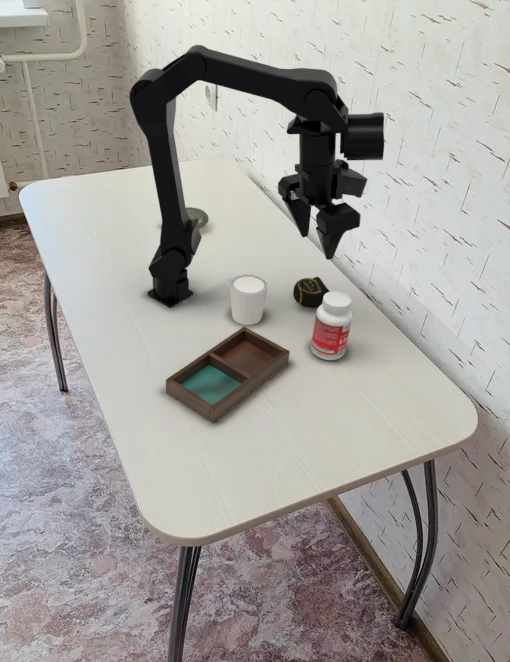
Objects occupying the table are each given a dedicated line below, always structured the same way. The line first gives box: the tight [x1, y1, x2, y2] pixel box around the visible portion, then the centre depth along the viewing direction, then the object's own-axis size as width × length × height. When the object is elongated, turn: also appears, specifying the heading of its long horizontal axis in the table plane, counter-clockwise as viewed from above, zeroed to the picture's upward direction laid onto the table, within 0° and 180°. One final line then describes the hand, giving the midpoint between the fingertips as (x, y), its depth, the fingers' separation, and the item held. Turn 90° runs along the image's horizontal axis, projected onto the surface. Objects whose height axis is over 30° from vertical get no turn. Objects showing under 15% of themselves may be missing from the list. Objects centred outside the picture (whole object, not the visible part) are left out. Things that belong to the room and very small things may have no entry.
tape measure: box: [292, 276, 331, 309], centre depth 120 cm, size 7×7×4 cm
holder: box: [165, 326, 291, 424], centre depth 102 cm, size 10×19×3 cm, turn 141°
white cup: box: [229, 274, 269, 326], centre depth 114 cm, size 7×7×7 cm
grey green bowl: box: [185, 206, 209, 230], centre depth 139 cm, size 11×10×5 cm
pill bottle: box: [310, 290, 353, 361], centre depth 106 cm, size 6×6×11 cm
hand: (316, 247), depth 109 cm, fingers open, 9 cm apart
